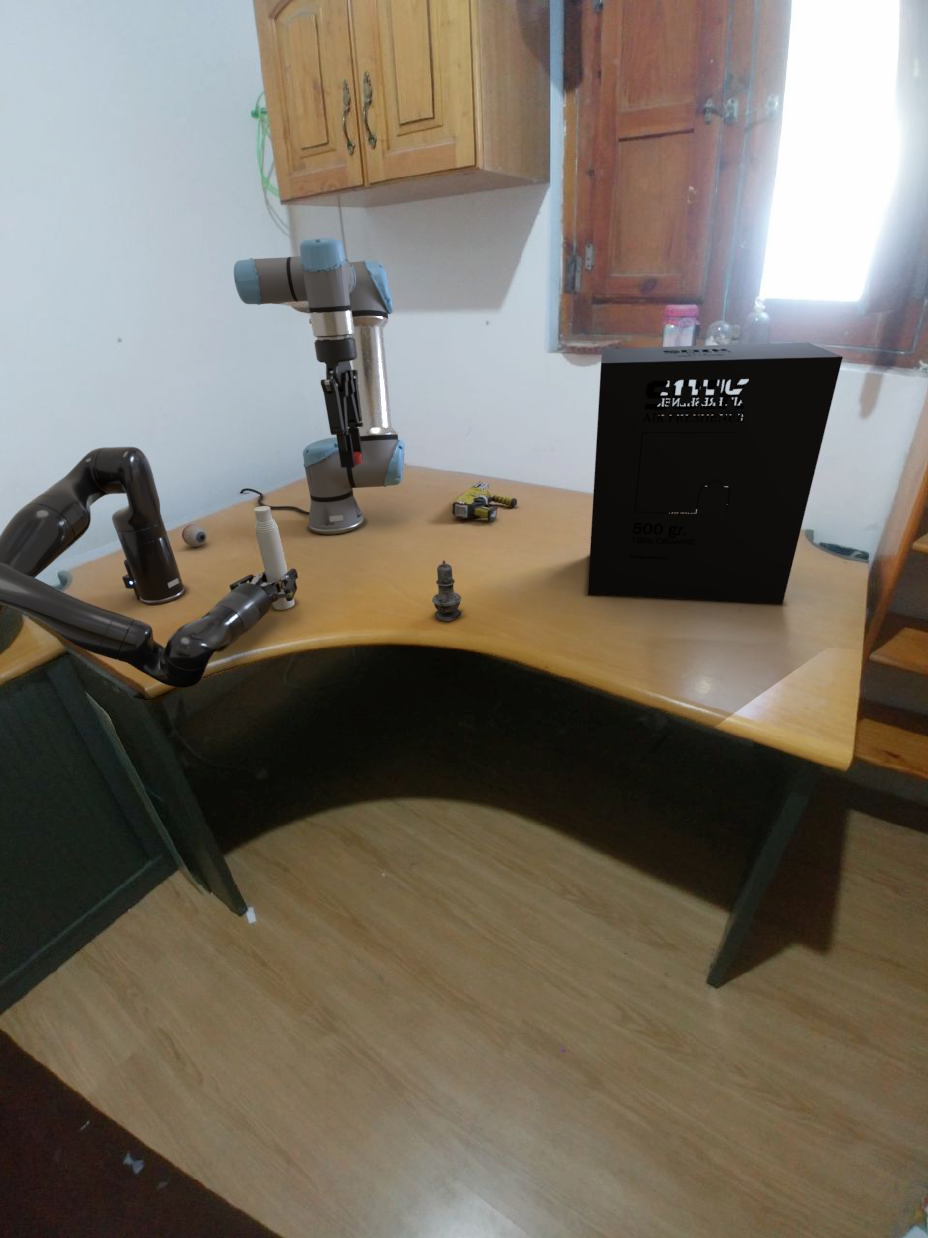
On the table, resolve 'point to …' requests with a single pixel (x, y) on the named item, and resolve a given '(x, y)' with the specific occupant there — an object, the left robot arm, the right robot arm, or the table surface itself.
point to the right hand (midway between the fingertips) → (352, 463)
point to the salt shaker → (446, 595)
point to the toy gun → (479, 503)
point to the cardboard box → (705, 469)
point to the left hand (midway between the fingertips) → (284, 571)
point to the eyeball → (194, 535)
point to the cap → (358, 458)
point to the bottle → (271, 550)
